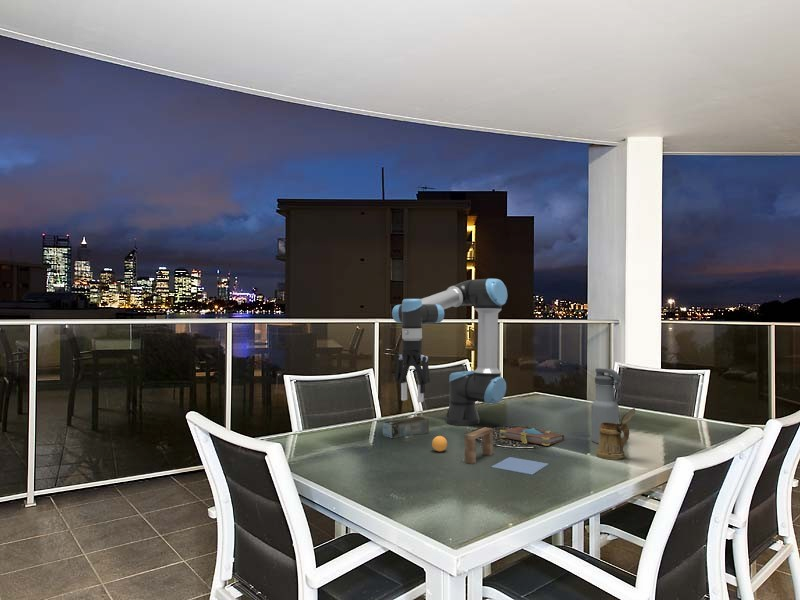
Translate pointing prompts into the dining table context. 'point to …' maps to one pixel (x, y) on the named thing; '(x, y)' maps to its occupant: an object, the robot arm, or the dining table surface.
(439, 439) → the ball
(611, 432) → the wooden mug
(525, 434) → the book
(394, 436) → the beverage carton
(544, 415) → the dining table surface
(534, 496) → the dining table surface
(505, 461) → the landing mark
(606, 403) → the water bottle
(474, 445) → the bridge
